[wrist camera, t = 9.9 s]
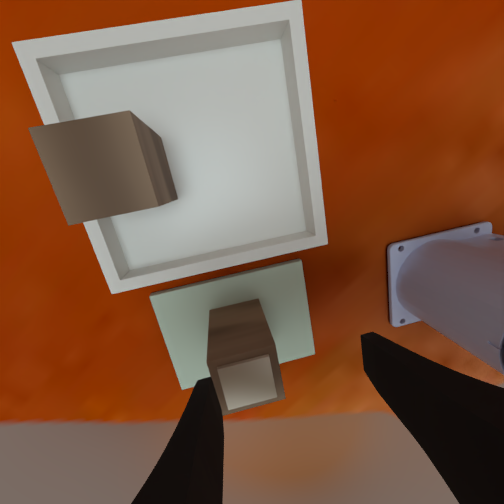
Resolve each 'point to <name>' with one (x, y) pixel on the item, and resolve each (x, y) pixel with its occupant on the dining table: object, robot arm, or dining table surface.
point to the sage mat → (227, 293)
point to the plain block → (104, 166)
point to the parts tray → (198, 135)
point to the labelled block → (243, 357)
